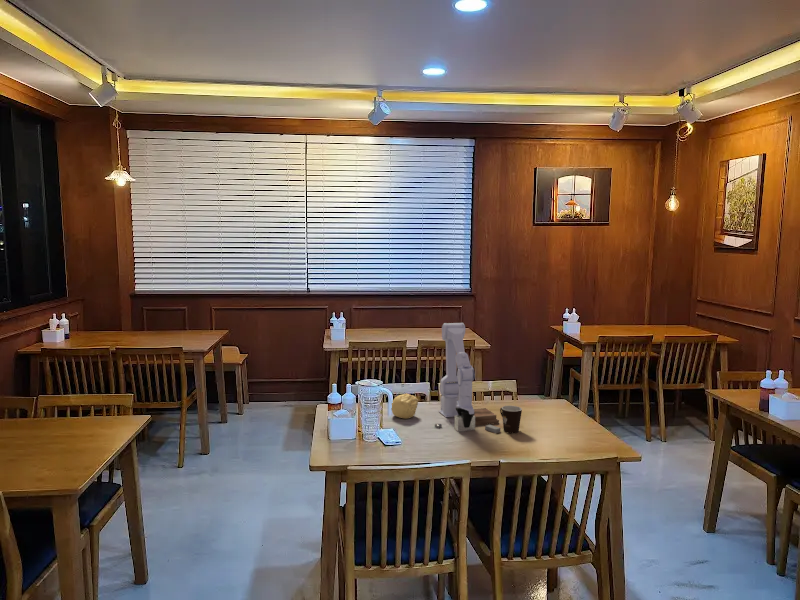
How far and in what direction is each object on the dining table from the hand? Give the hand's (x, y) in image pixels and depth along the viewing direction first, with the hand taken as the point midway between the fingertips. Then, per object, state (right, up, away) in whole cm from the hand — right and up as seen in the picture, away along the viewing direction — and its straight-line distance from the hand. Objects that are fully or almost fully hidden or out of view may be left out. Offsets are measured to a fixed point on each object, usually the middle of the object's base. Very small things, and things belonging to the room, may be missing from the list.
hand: (464, 425), depth 243 cm
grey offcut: (+12, -2, -1) cm, 12 cm away
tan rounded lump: (-26, 0, +17) cm, 31 cm away
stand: (+9, 0, +13) cm, 16 cm away
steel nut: (-11, -2, +3) cm, 12 cm away
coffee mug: (+20, -2, 0) cm, 20 cm away
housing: (0, -2, 0) cm, 2 cm away
